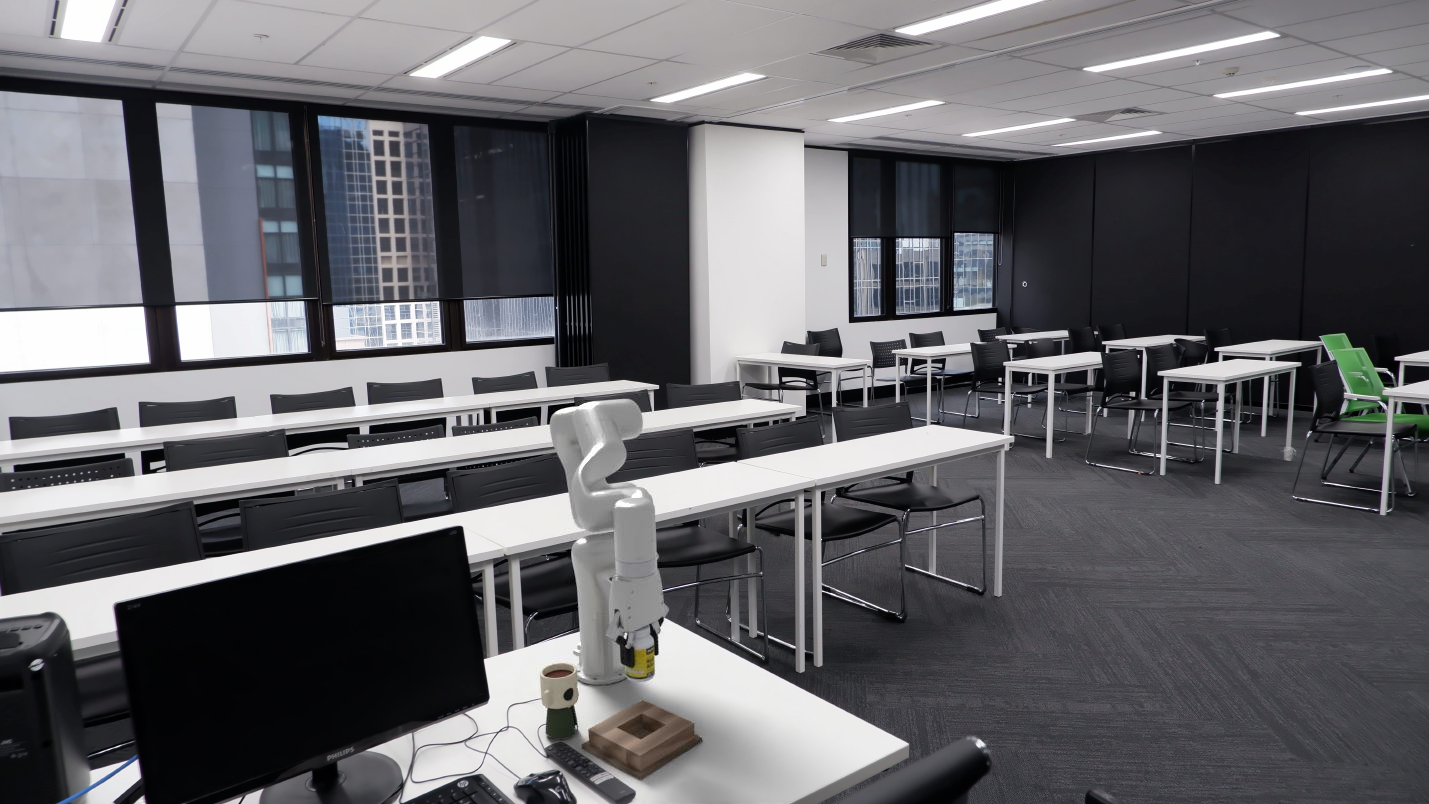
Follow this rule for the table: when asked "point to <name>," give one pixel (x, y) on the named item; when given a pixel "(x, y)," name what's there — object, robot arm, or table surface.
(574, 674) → the character mug
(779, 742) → the table surface
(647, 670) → the supplement bottle
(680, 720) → the bottle holder
